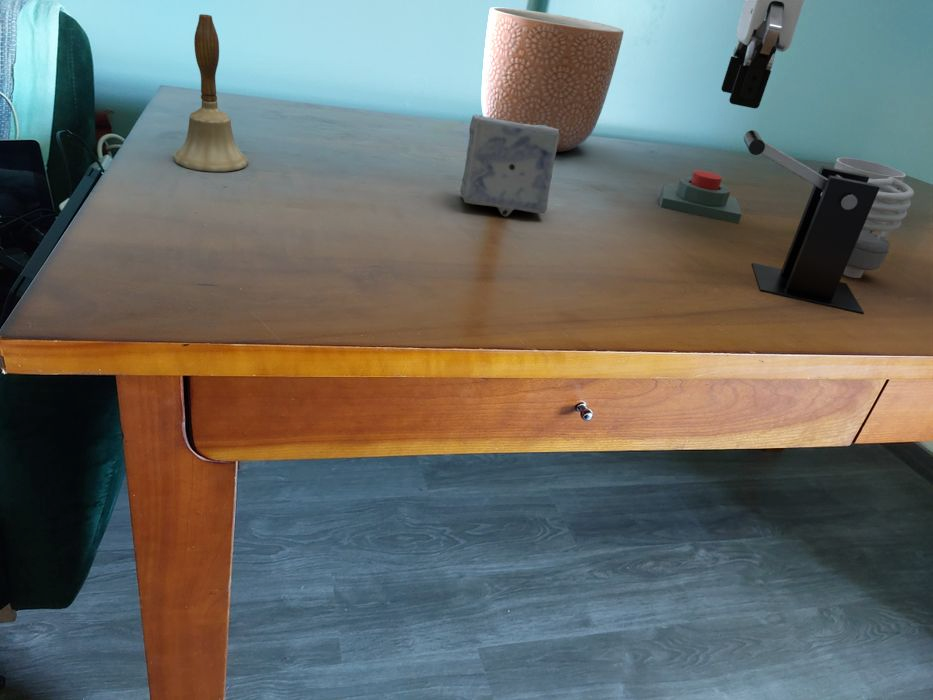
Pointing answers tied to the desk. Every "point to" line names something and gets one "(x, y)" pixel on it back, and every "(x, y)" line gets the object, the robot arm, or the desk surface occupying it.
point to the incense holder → (509, 165)
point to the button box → (700, 200)
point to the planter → (548, 71)
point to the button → (706, 180)
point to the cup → (869, 173)
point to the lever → (783, 159)
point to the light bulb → (879, 226)
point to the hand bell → (209, 114)
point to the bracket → (823, 243)
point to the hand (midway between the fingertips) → (738, 99)
